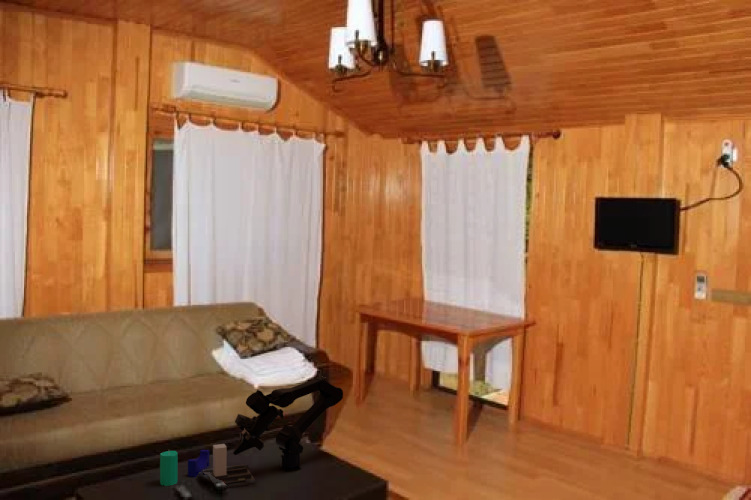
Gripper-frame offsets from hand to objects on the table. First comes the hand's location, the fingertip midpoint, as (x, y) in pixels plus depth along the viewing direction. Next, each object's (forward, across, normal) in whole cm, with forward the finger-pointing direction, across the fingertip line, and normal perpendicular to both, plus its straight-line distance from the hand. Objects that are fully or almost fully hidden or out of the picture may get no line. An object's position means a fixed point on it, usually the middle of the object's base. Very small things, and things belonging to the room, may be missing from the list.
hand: (234, 454), depth 242 cm
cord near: (+6, +8, +6) cm, 12 cm away
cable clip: (+14, -13, -1) cm, 19 cm away
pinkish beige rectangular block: (+9, 0, +1) cm, 9 cm away
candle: (+22, -5, -9) cm, 24 cm away
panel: (+7, 0, +6) cm, 9 cm away
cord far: (+7, -8, +6) cm, 12 cm away
